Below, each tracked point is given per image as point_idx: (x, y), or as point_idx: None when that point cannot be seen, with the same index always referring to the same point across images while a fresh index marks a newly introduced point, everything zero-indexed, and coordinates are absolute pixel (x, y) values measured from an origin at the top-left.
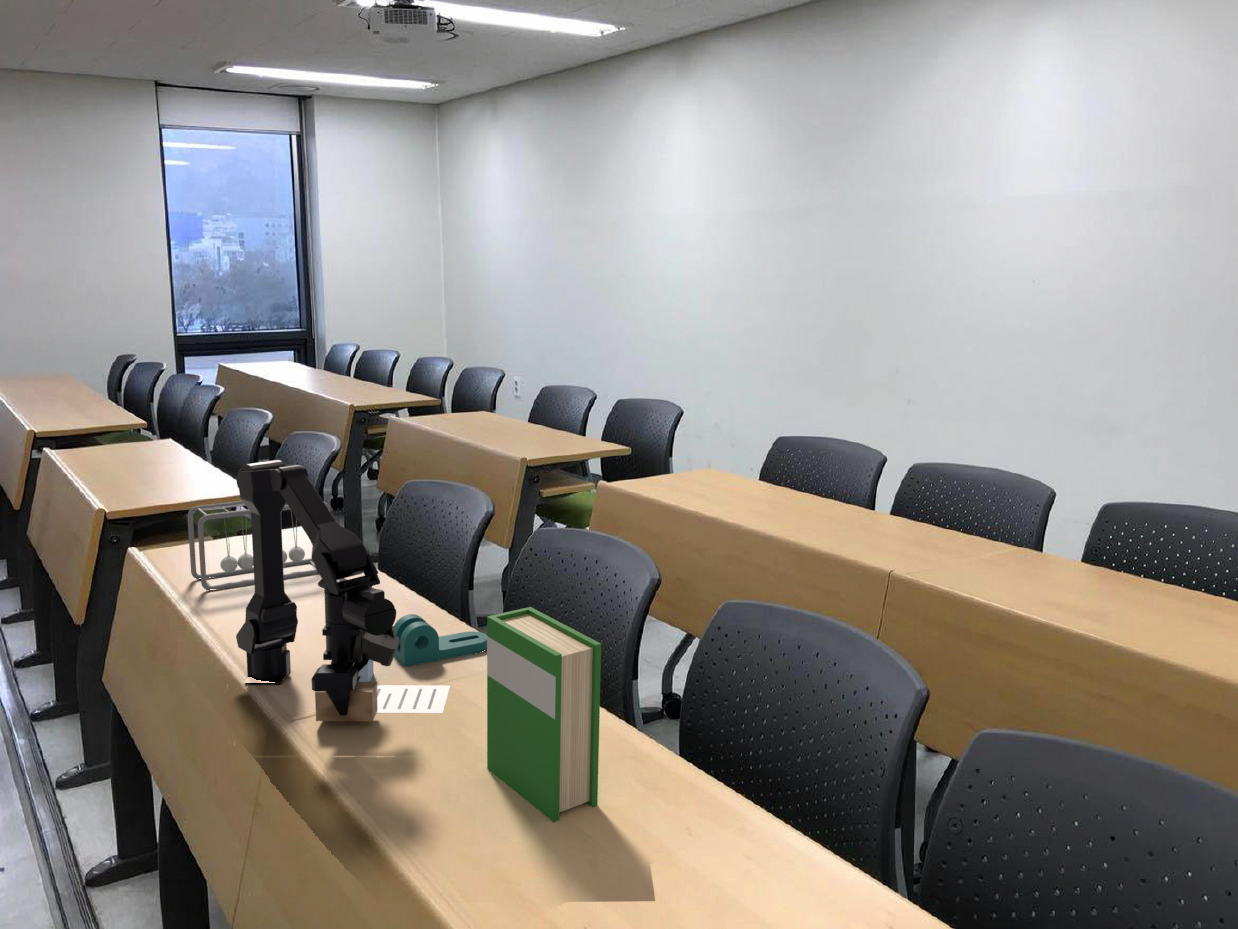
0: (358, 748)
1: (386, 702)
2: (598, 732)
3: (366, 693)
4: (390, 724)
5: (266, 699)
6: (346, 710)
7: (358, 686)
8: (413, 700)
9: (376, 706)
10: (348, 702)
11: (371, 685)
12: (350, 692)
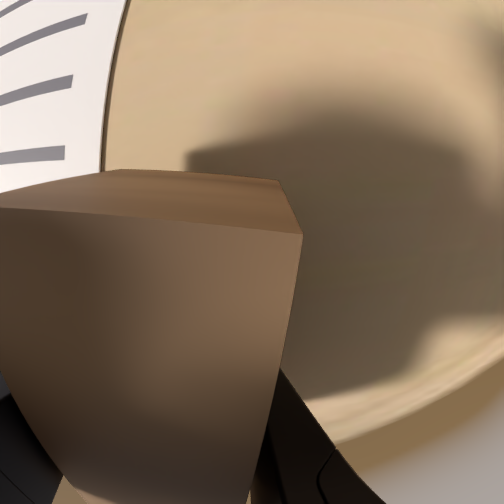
0: (459, 238)
1: (19, 156)
2: None
3: (279, 326)
4: (228, 85)
5: None
6: (284, 381)
7: (88, 414)
8: (21, 52)
9: (129, 172)
10: (310, 422)
11: (23, 267)
12: (302, 490)
